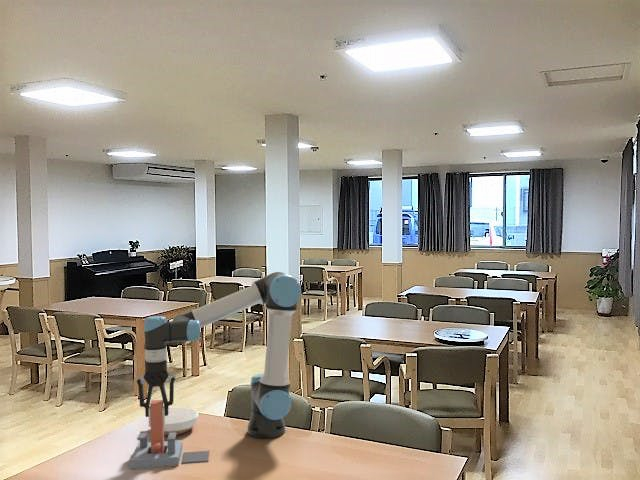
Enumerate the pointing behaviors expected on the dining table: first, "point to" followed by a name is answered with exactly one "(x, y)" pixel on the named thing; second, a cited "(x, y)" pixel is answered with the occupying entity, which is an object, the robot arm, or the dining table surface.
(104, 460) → the dining table surface
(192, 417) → the bowl
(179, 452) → the eye block
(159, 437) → the orange tabbed bar
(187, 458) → the mat
